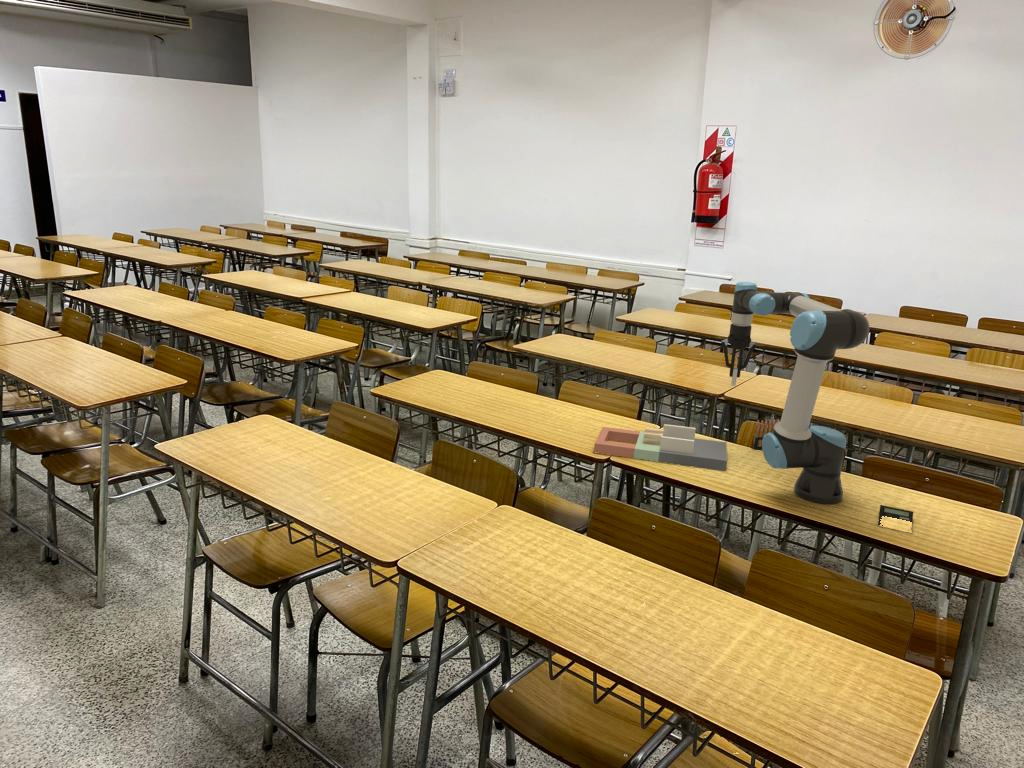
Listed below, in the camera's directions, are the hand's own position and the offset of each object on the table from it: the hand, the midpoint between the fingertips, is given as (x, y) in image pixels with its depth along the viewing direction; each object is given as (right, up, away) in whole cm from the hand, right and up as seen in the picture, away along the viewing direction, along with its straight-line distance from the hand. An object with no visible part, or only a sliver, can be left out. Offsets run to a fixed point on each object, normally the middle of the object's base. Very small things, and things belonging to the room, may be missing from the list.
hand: (733, 385), depth 271 cm
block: (-30, -22, +2) cm, 37 cm away
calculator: (+36, -43, -48) cm, 74 cm away
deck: (-27, -26, +2) cm, 38 cm away
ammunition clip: (+16, -25, +11) cm, 32 cm away
